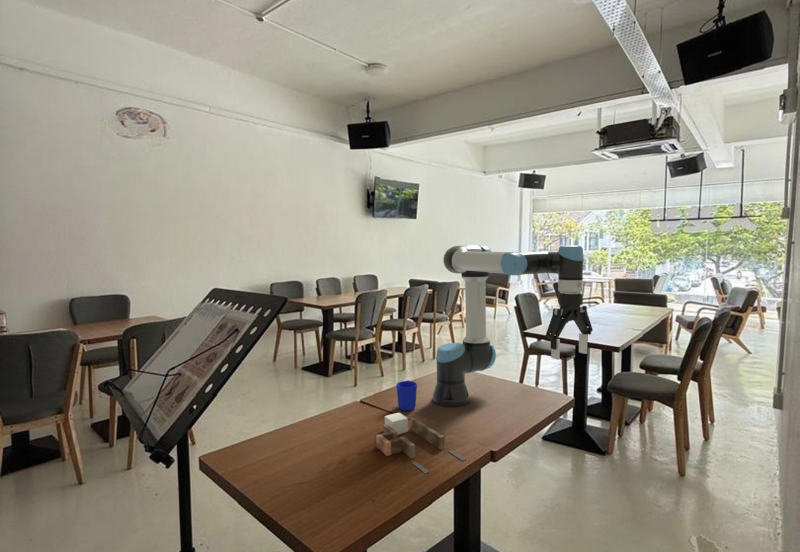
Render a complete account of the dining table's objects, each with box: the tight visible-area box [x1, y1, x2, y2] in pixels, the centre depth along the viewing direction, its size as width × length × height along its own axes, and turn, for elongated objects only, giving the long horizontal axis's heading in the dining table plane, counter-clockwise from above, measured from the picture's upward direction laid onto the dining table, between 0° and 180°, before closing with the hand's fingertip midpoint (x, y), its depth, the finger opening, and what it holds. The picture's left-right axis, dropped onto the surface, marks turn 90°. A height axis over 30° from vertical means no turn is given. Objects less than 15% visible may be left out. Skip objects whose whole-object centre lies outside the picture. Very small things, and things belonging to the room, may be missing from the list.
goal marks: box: [411, 449, 467, 474], centre depth 130 cm, size 7×15×1 cm, turn 120°
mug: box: [395, 379, 418, 412], centre depth 174 cm, size 8×12×10 cm
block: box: [384, 412, 409, 436], centre depth 152 cm, size 6×6×5 cm
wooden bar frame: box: [375, 417, 445, 459], centre depth 142 cm, size 18×18×4 cm
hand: (569, 355), depth 144 cm, fingers open, 13 cm apart
